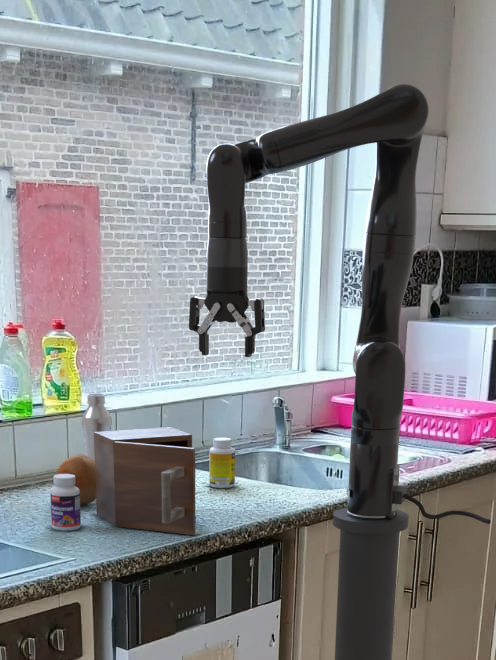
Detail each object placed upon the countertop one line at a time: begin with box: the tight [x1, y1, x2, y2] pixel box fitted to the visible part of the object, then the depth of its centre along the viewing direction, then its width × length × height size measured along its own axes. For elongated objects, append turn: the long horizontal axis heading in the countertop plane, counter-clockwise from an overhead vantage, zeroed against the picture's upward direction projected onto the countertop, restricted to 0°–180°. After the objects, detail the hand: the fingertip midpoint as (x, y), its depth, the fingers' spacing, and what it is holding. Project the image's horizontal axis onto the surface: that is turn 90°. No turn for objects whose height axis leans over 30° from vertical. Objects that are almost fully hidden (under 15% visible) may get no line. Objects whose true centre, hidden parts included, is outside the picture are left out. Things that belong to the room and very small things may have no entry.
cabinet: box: [94, 426, 193, 527], centre depth 231 cm, size 10×16×16 cm, turn 118°
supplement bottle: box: [208, 437, 236, 489], centre depth 260 cm, size 6×6×10 cm
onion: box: [54, 453, 96, 507], centre depth 240 cm, size 10×10×10 cm
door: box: [114, 441, 196, 536], centre depth 217 cm, size 8×16×16 cm, turn 68°
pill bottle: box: [49, 474, 82, 532], centre depth 222 cm, size 5×5×10 cm
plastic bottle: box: [81, 392, 113, 461], centre depth 252 cm, size 6×7×20 cm
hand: (226, 355), depth 226 cm, fingers open, 8 cm apart
